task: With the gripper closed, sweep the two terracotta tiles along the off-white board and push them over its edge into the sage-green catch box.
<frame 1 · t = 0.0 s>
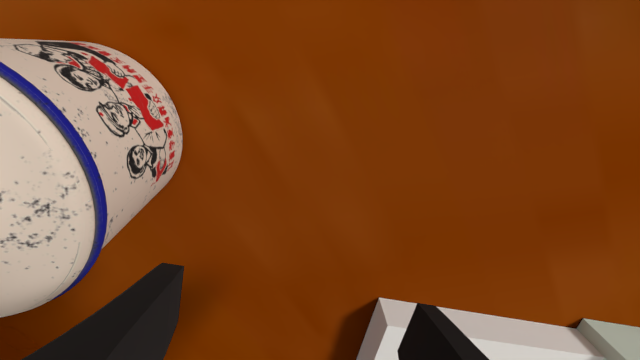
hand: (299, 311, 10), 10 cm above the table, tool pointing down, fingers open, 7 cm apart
teacup with lid: (84, 104, 18), on the table
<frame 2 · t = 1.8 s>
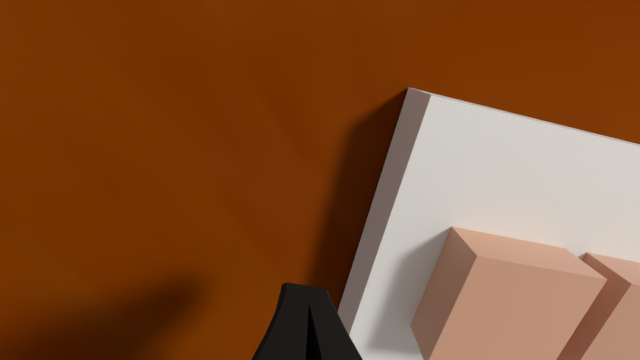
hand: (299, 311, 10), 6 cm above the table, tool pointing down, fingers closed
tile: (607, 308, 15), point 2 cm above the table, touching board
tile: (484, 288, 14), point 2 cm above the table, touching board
board: (508, 263, 17), on the table
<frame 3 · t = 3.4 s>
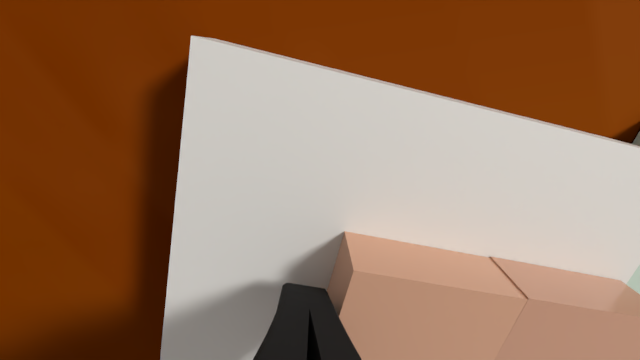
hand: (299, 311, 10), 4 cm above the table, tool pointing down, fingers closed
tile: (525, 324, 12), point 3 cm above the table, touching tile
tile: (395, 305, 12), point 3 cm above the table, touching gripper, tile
board: (382, 263, 14), on the table
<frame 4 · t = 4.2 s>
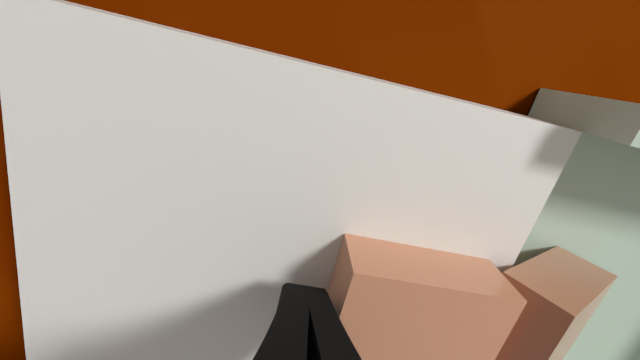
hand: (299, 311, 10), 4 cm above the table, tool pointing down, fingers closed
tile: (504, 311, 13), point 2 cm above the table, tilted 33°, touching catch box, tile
catch box: (577, 296, 15), on the table
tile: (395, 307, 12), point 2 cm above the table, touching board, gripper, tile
board: (276, 244, 13), on the table
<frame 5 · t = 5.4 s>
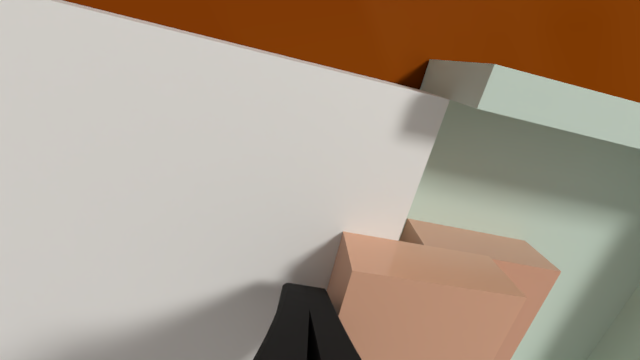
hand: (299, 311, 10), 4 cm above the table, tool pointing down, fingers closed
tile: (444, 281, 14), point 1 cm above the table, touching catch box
catch box: (494, 281, 15), on the table
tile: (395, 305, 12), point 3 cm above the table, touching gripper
board: (170, 225, 13), on the table
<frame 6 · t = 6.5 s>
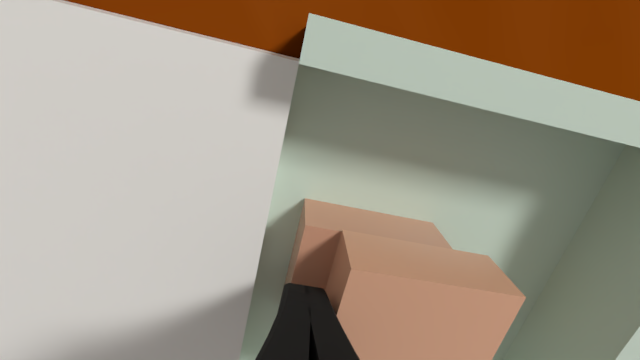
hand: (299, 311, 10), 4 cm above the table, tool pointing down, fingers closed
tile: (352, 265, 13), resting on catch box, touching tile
catch box: (404, 266, 14), on the table
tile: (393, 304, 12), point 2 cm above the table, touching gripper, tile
board: (52, 205, 12), on the table
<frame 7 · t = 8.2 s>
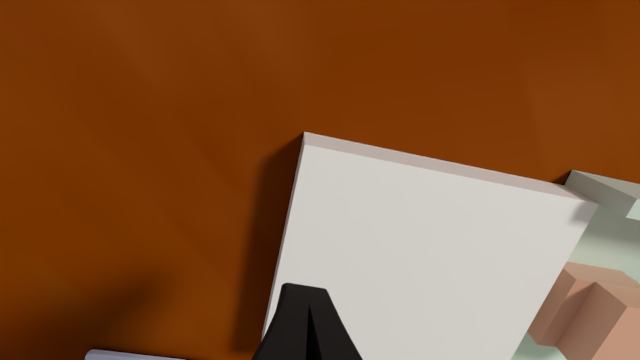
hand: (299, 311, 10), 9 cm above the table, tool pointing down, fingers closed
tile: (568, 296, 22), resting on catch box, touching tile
catch box: (593, 294, 23), on the table
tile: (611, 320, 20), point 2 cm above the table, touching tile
board: (402, 263, 21), on the table
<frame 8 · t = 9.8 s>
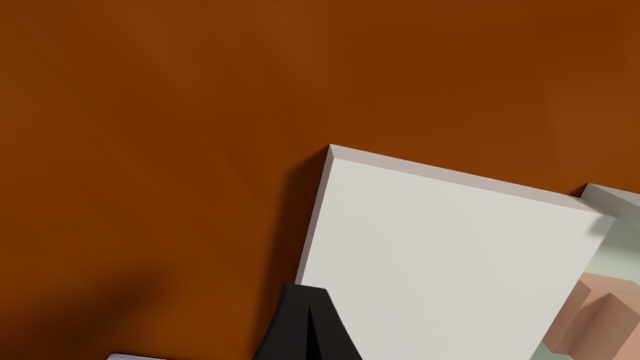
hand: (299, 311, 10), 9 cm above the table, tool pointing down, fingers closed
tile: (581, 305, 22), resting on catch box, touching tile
catch box: (605, 304, 23), on the table
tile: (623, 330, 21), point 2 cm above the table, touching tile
board: (420, 272, 21), on the table
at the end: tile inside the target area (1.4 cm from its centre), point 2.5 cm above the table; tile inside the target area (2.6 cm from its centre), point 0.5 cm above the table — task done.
